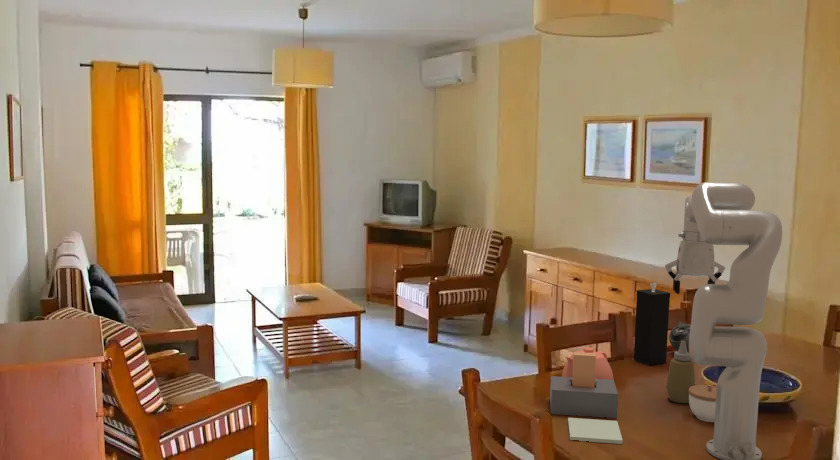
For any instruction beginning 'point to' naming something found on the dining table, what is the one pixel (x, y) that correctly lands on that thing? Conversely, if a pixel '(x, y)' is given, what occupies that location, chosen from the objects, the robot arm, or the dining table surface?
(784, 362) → the dining table surface
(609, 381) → the dispenser
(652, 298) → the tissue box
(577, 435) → the mat
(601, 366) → the teapot
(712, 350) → the robot arm
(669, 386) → the squeeze bottle
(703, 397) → the lidded jar
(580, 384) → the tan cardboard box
